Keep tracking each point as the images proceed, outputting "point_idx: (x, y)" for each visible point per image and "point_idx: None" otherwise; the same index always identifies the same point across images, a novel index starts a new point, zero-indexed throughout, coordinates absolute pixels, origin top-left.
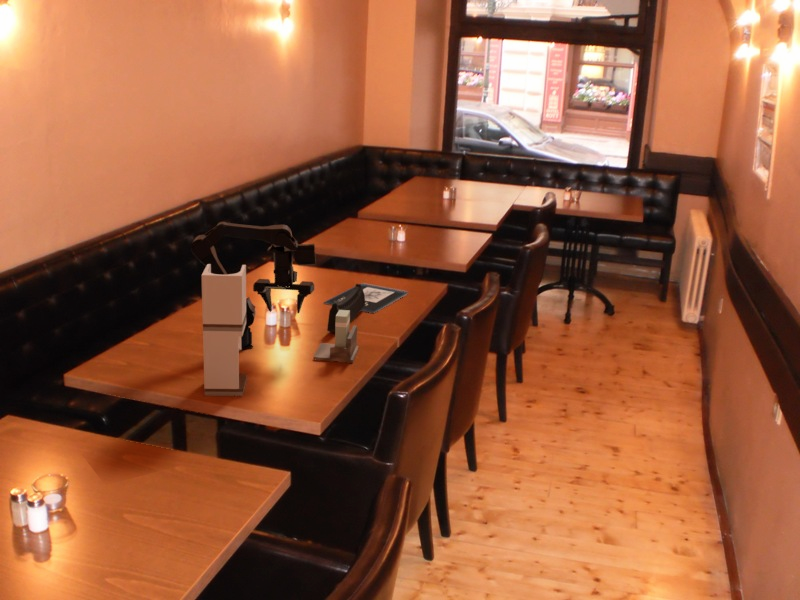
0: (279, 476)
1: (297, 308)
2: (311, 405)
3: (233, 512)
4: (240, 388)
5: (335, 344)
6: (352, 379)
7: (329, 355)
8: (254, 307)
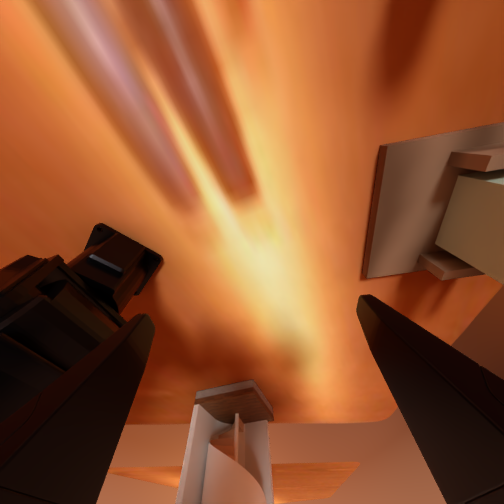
0: (357, 463)
1: (382, 365)
2: (375, 402)
3: (334, 480)
4: (269, 420)
5: (470, 263)
6: (455, 329)
7: (416, 254)
8: (27, 364)
